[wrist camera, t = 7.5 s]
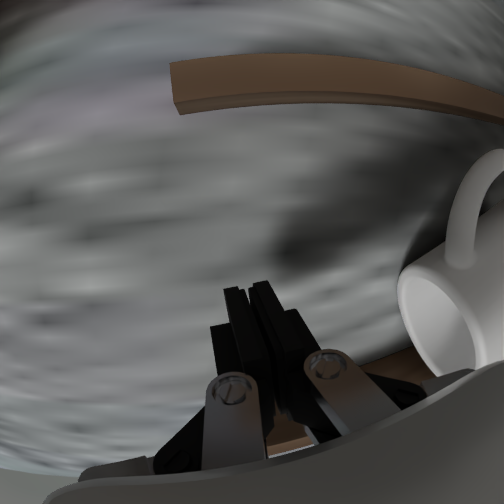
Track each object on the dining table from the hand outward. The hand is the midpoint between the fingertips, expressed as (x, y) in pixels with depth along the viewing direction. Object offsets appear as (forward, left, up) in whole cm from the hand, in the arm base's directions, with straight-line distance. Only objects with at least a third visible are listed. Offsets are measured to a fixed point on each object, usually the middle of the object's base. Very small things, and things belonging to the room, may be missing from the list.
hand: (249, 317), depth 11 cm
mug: (0, +14, -3) cm, 14 cm away
